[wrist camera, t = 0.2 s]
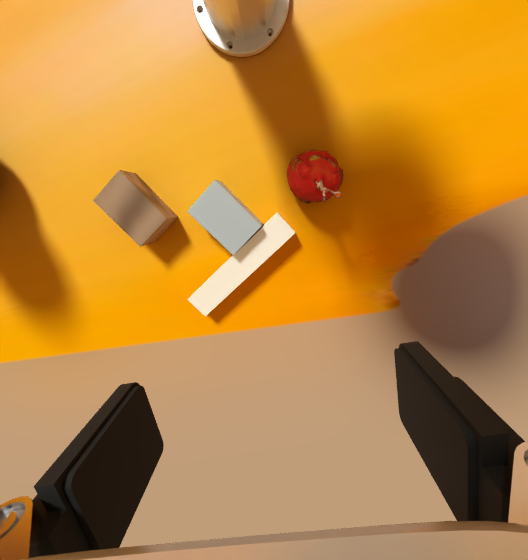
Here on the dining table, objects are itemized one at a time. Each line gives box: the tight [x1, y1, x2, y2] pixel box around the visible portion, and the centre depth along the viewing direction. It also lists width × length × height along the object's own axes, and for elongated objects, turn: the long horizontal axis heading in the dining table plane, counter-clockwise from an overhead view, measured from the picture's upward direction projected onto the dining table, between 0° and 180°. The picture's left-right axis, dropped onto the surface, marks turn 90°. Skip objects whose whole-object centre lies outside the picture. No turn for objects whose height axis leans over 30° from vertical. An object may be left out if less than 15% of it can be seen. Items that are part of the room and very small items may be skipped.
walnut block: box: [93, 170, 178, 247], centre depth 43 cm, size 9×6×5 cm, turn 43°
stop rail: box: [188, 212, 295, 316], centre depth 45 cm, size 4×20×3 cm, turn 134°
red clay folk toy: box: [287, 150, 343, 203], centre depth 36 cm, size 8×7×15 cm
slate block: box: [187, 180, 263, 255], centre depth 43 cm, size 9×6×5 cm, turn 45°
